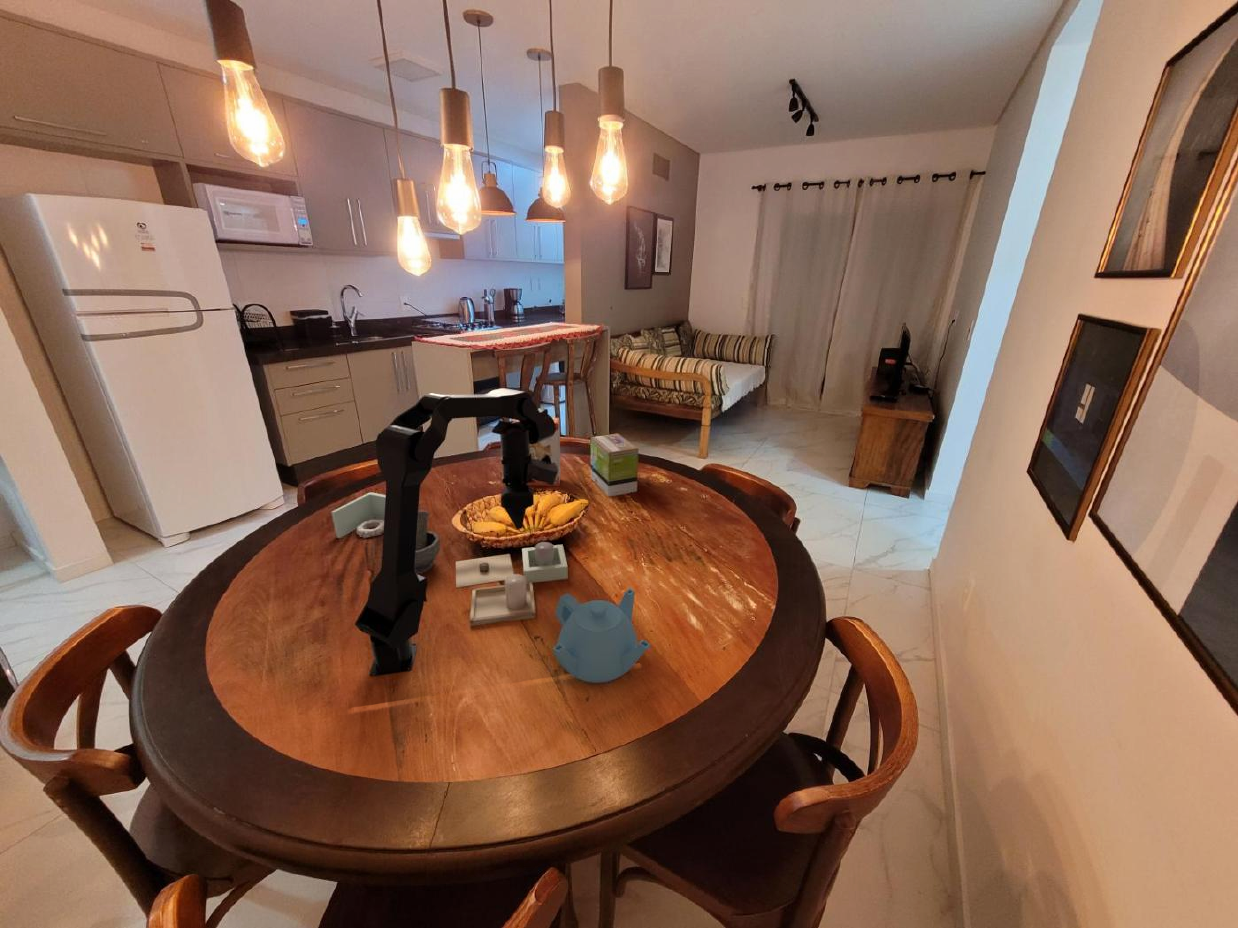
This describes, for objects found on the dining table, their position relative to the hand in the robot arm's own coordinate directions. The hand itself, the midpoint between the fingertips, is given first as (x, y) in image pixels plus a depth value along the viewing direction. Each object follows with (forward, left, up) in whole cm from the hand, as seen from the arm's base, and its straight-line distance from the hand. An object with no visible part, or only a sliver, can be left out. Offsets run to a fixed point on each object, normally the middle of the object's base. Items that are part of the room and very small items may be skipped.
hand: (519, 518), depth 104 cm
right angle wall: (+23, +36, -13) cm, 45 cm away
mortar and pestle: (+4, +22, -13) cm, 26 cm away
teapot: (-31, -12, -13) cm, 35 cm away
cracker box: (+46, -7, -13) cm, 48 cm away
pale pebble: (-14, +1, -12) cm, 18 cm away
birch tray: (-14, +4, -12) cm, 19 cm away
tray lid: (-1, +8, -12) cm, 15 cm away
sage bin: (-3, -5, -12) cm, 13 cm away
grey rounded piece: (-2, -5, -12) cm, 13 cm away
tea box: (+40, -30, -13) cm, 52 cm away
